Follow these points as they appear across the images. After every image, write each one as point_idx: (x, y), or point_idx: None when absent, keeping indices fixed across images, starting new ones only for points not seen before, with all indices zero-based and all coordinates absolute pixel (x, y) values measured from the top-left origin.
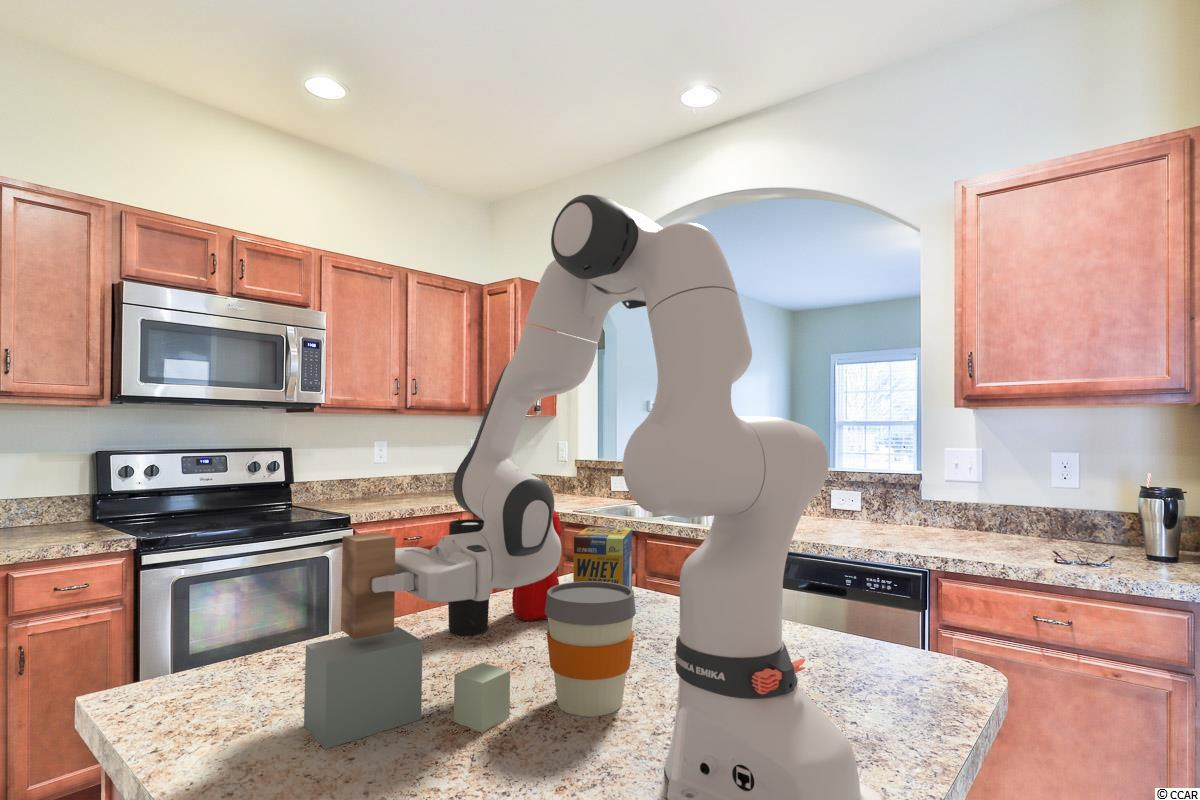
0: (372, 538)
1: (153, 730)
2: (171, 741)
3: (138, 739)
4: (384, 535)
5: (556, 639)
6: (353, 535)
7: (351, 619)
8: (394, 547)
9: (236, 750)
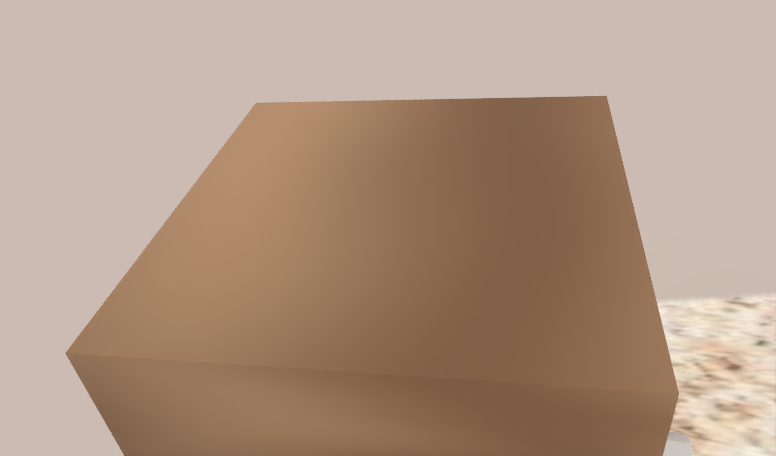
0: (252, 185)
1: (761, 346)
2: (671, 359)
3: (721, 323)
4: (305, 311)
5: None
6: (587, 142)
7: None
8: (128, 437)
9: None
